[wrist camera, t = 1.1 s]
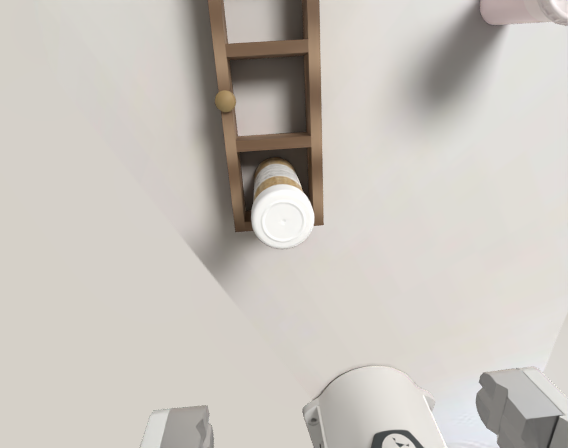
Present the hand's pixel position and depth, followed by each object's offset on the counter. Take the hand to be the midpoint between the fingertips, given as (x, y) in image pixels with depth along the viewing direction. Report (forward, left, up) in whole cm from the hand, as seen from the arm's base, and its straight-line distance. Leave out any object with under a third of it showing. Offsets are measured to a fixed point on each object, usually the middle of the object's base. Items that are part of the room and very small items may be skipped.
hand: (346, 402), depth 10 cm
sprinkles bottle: (0, +1, -29) cm, 29 cm away
